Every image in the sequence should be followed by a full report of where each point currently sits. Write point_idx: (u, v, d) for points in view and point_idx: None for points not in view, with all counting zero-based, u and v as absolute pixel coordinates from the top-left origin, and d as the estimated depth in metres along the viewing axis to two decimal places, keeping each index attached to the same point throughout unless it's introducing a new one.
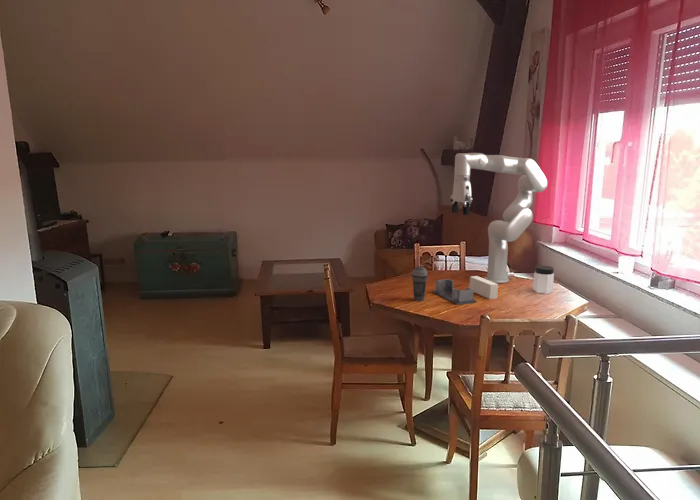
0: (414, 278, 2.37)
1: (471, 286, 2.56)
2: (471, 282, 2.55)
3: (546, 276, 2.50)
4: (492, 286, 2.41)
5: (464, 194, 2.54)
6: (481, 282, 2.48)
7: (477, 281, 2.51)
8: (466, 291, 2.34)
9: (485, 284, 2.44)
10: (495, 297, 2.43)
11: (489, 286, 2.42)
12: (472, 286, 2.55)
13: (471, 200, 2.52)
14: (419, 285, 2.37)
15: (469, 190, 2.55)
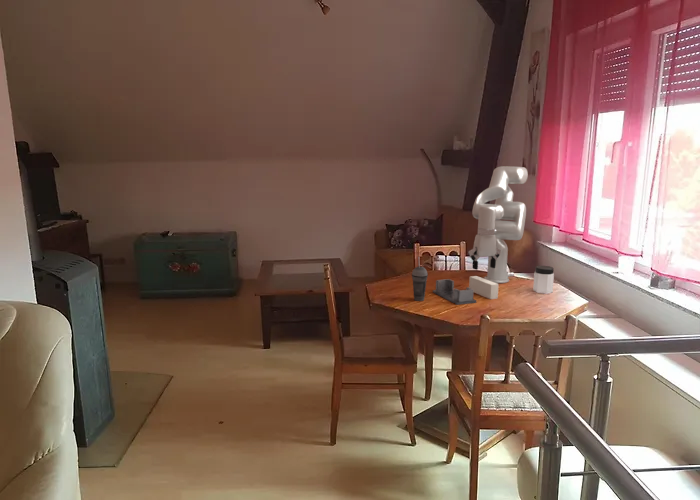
0: (414, 278, 2.37)
1: (471, 286, 2.56)
2: (471, 282, 2.55)
3: (546, 276, 2.50)
4: (493, 286, 2.41)
5: None
6: (481, 282, 2.48)
7: (477, 281, 2.51)
8: (466, 291, 2.34)
9: (486, 284, 2.44)
10: (496, 297, 2.43)
11: (490, 286, 2.42)
12: (471, 286, 2.55)
13: None
14: (419, 285, 2.37)
15: None
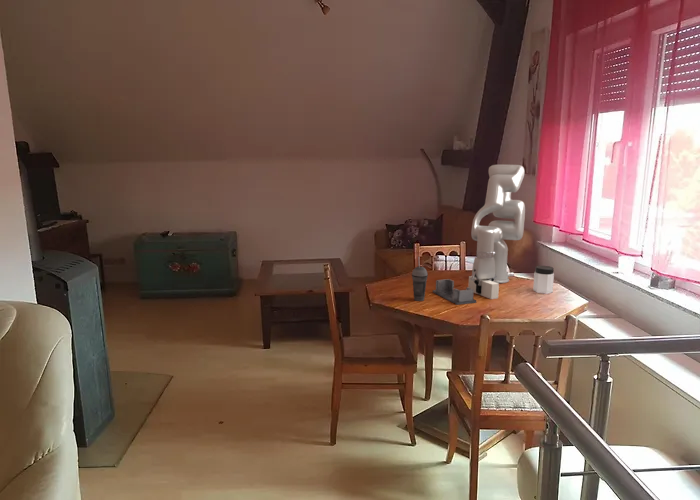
0: (414, 278, 2.37)
1: (470, 286, 2.55)
2: (470, 282, 2.55)
3: (546, 276, 2.50)
4: (493, 286, 2.41)
5: None
6: (481, 282, 2.47)
7: None
8: (466, 291, 2.34)
9: (486, 283, 2.44)
10: (496, 296, 2.43)
11: (490, 286, 2.42)
12: (471, 286, 2.55)
13: None
14: (419, 285, 2.37)
15: None
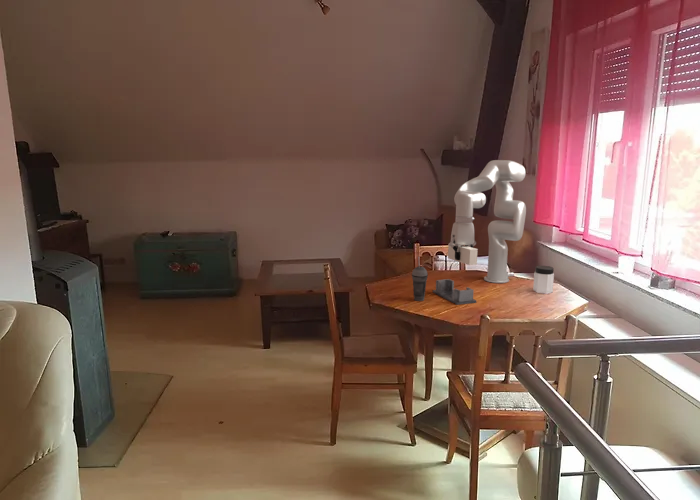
0: (414, 278, 2.37)
1: (449, 253, 2.48)
2: (450, 249, 2.47)
3: (546, 276, 2.50)
4: (472, 251, 2.34)
5: None
6: (460, 248, 2.40)
7: None
8: (466, 291, 2.34)
9: (465, 249, 2.37)
10: (475, 263, 2.35)
11: (468, 251, 2.34)
12: (450, 254, 2.47)
13: None
14: (419, 285, 2.37)
15: None
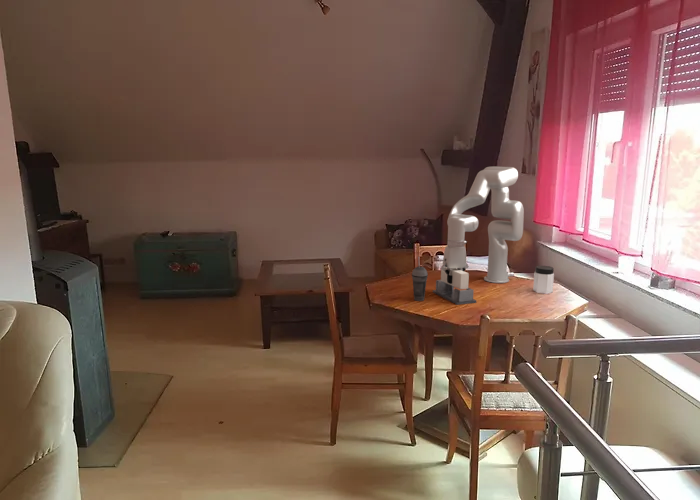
0: (414, 278, 2.37)
1: (442, 276, 2.49)
2: (442, 272, 2.49)
3: (546, 276, 2.50)
4: (463, 275, 2.35)
5: None
6: (452, 271, 2.41)
7: None
8: (466, 291, 2.34)
9: (456, 273, 2.38)
10: (466, 287, 2.36)
11: (460, 275, 2.35)
12: (443, 276, 2.48)
13: None
14: (419, 285, 2.37)
15: None
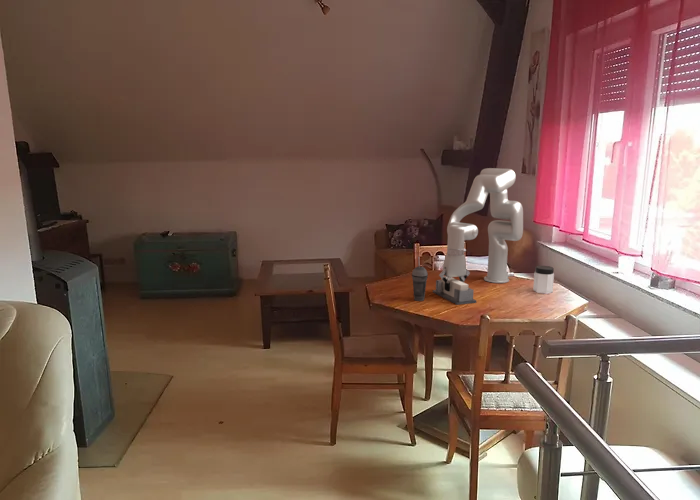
0: (414, 278, 2.37)
1: (442, 286, 2.50)
2: (443, 282, 2.50)
3: (546, 276, 2.50)
4: (462, 286, 2.36)
5: None
6: (452, 282, 2.42)
7: None
8: (466, 291, 2.34)
9: (456, 284, 2.39)
10: None
11: (459, 286, 2.36)
12: (443, 287, 2.50)
13: None
14: (419, 285, 2.37)
15: None
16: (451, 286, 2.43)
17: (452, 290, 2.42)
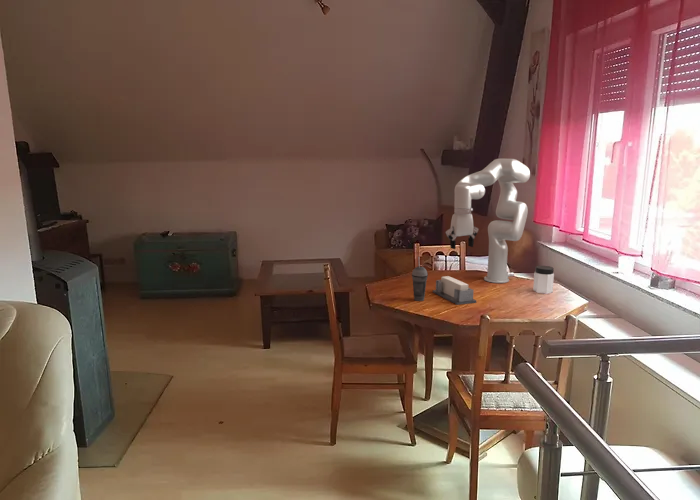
0: (414, 278, 2.37)
1: (442, 286, 2.50)
2: (443, 282, 2.50)
3: (546, 276, 2.50)
4: (462, 286, 2.36)
5: None
6: (452, 282, 2.42)
7: (448, 281, 2.45)
8: (466, 291, 2.34)
9: (456, 284, 2.39)
10: None
11: (459, 286, 2.36)
12: (443, 287, 2.50)
13: None
14: (419, 285, 2.37)
15: None
16: (451, 286, 2.43)
17: (452, 290, 2.42)
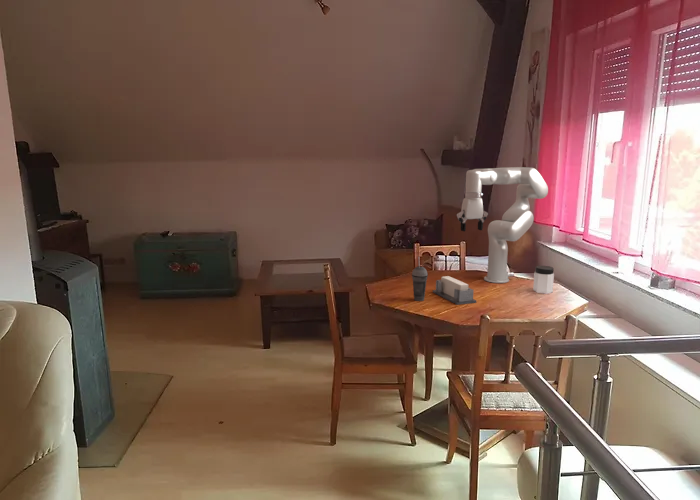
0: (414, 278, 2.37)
1: (442, 286, 2.50)
2: (443, 282, 2.50)
3: (546, 276, 2.50)
4: (462, 286, 2.36)
5: None
6: (452, 282, 2.42)
7: (448, 281, 2.45)
8: (466, 291, 2.34)
9: (456, 284, 2.39)
10: None
11: (459, 286, 2.36)
12: (443, 287, 2.50)
13: None
14: (419, 285, 2.37)
15: None
16: (451, 286, 2.43)
17: (452, 290, 2.42)
